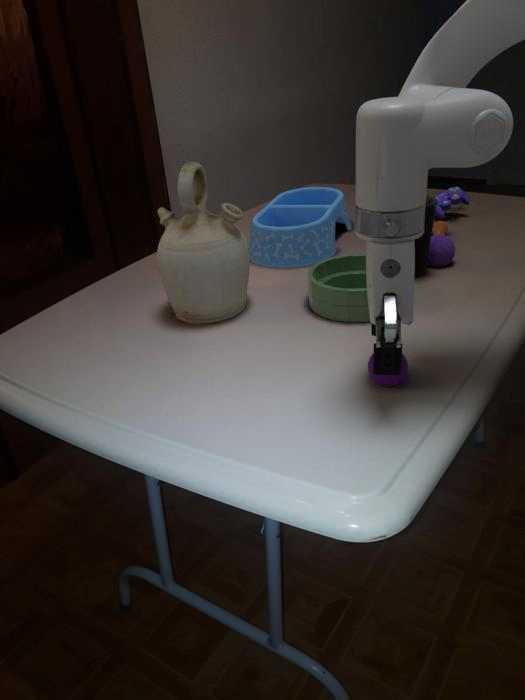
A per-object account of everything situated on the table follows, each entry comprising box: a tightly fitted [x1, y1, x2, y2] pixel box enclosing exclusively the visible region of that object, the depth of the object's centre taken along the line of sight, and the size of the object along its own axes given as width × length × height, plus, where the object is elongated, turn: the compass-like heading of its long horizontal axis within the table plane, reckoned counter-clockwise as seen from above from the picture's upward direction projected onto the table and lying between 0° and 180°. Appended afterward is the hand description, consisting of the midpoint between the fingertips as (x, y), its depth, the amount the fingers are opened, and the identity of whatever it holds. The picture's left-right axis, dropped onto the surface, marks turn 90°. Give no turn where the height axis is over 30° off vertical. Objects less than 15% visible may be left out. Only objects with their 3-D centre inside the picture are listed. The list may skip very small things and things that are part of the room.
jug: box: [156, 161, 251, 324], centre depth 91 cm, size 15×16×25 cm
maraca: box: [427, 220, 456, 268], centre depth 109 cm, size 6×6×20 cm
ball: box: [367, 352, 409, 387], centre depth 71 cm, size 5×5×5 cm
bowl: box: [307, 253, 371, 323], centre depth 92 cm, size 16×16×6 cm
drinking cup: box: [414, 193, 438, 278], centre depth 97 cm, size 8×8×20 cm
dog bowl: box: [248, 186, 353, 269], centre depth 122 cm, size 34×19×8 cm, turn 161°
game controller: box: [434, 185, 471, 223], centre depth 128 cm, size 10×8×10 cm
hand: (385, 353), depth 70 cm, fingers open, 9 cm apart
